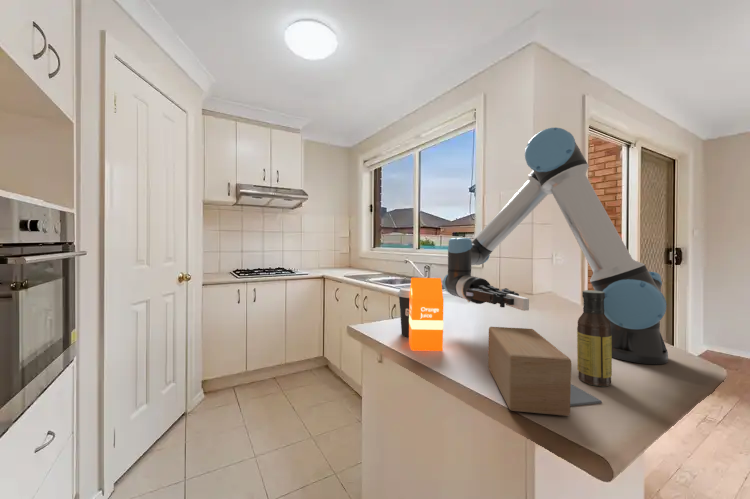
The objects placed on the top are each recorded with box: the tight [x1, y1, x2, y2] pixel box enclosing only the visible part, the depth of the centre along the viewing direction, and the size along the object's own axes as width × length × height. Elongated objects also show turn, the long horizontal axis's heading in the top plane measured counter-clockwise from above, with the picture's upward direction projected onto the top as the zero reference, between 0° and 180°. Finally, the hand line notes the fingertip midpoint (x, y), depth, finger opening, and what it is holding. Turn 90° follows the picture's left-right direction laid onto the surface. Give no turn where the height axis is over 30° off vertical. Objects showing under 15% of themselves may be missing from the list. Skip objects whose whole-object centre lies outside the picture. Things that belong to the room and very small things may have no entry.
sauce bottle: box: [576, 289, 613, 387], centre depth 69 cm, size 6×6×20 cm
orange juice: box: [408, 277, 444, 352], centre depth 91 cm, size 8×9×20 cm
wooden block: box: [487, 326, 572, 416], centre depth 64 cm, size 10×10×20 cm
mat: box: [570, 383, 603, 407], centre depth 65 cm, size 14×12×1 cm
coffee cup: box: [397, 286, 411, 338], centre depth 103 cm, size 10×10×15 cm
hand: (526, 304), depth 72 cm, fingers closed
